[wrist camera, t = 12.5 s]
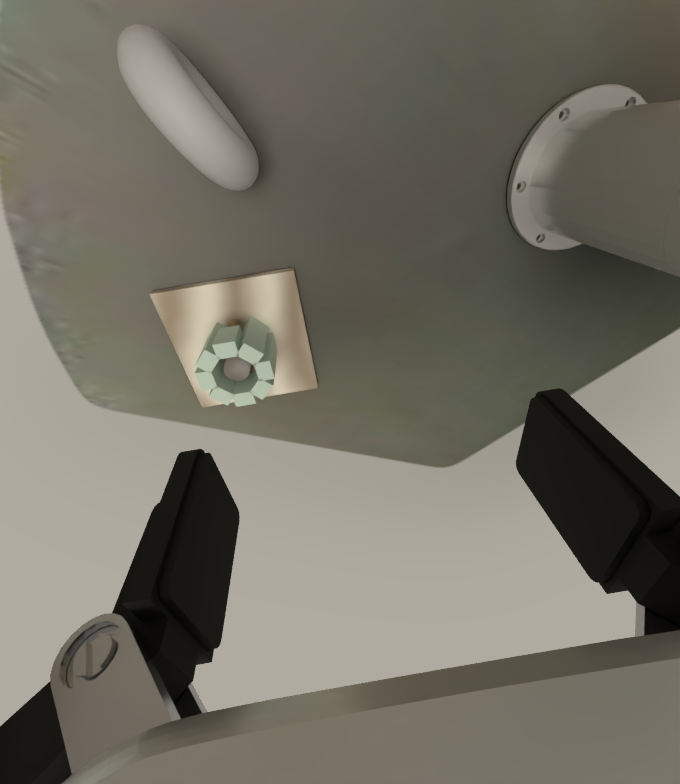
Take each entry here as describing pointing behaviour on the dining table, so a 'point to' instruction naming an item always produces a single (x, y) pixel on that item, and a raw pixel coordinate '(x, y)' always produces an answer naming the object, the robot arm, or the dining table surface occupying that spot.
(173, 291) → the post base
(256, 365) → the collar
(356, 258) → the dining table surface
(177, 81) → the donut
